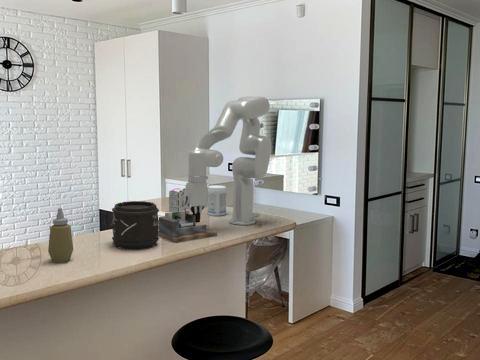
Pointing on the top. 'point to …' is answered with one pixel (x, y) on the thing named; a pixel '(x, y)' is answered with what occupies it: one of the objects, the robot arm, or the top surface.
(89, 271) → the top surface
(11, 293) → the top surface
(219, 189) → the supplement tub
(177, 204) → the candy bar box
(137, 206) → the black round canister
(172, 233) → the force tester
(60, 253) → the squeeze bottle
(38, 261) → the top surface
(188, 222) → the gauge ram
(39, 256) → the top surface
